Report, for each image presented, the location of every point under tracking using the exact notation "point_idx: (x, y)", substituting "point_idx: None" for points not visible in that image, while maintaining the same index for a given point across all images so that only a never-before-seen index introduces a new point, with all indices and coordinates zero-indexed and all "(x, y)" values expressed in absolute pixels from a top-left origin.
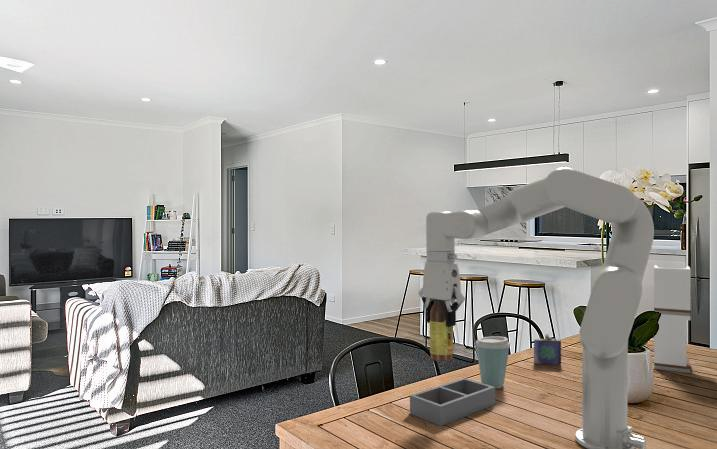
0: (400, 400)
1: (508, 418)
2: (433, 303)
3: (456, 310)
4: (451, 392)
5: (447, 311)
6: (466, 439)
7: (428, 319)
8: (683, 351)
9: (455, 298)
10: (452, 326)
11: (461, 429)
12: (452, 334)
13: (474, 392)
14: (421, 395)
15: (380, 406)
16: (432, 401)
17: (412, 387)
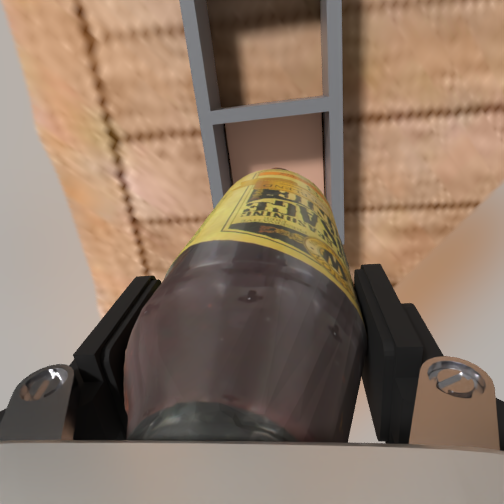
0: (134, 191)
1: (441, 6)
2: (69, 417)
3: (466, 375)
4: (266, 118)
5: (392, 442)
6: (432, 229)
7: None
8: None
9: (455, 463)
10: (345, 262)
11: (386, 197)
12: (338, 239)
13: (328, 51)
14: None
15: (149, 258)
16: (224, 156)
17: (46, 80)
